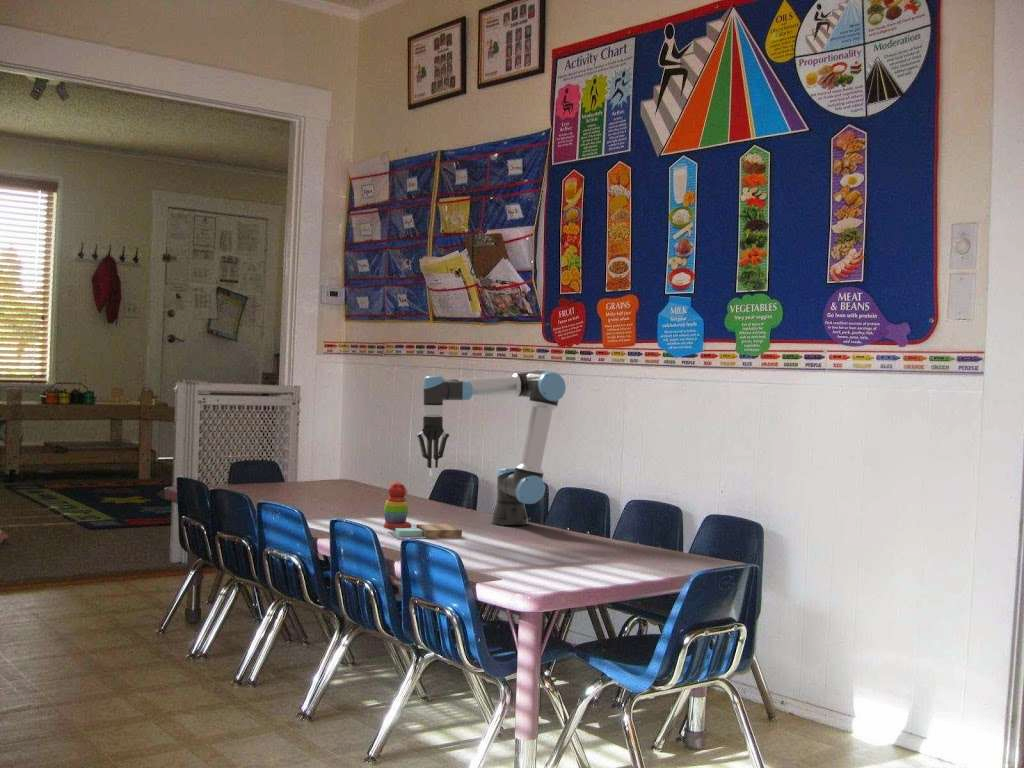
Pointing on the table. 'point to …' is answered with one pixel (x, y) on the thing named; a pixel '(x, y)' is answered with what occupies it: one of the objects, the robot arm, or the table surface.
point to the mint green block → (408, 531)
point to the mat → (405, 536)
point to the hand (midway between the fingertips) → (432, 476)
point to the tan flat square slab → (440, 530)
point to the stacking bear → (396, 507)
